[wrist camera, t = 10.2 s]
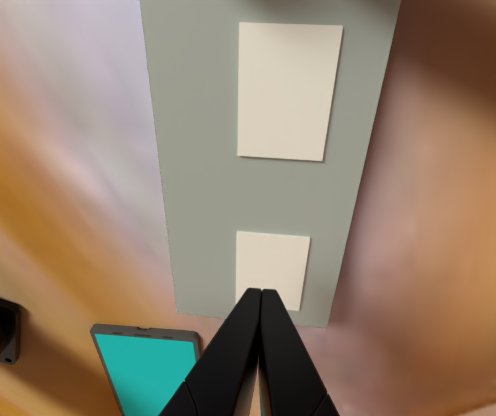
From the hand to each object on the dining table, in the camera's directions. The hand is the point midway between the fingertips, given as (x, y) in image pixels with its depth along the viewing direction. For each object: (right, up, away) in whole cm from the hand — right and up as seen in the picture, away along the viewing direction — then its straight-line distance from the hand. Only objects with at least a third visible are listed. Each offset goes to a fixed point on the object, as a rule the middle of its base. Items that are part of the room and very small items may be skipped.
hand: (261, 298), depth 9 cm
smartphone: (-7, -11, +16) cm, 21 cm away
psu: (0, +4, +5) cm, 7 cm away
